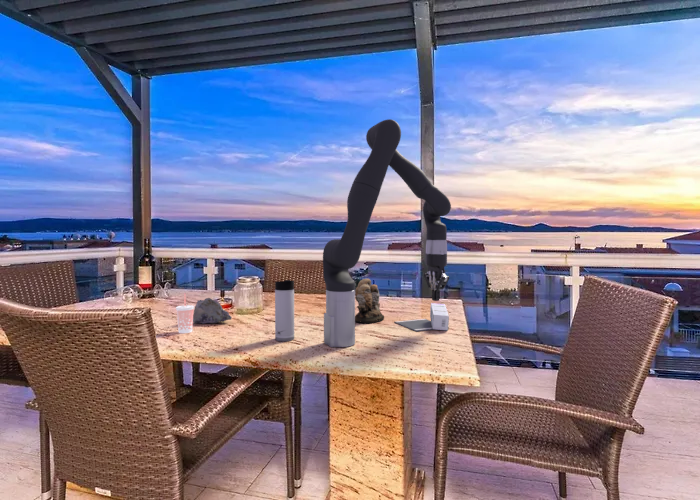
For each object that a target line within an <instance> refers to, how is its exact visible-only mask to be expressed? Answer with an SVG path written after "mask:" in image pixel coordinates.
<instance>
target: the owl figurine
mask: <svg viewBox="0 0 700 500" xmlns="http://www.w3.org/2000/svg"><path fill="white" fill-rule="evenodd" d="M380 296H381V295H380V291H379V288H378V285H377V284H372V280H371V279H370V278H363V279H361V280H360V281H359V282H358V284H357V287H355V302H357V304H358V305H357V306H356V308H357V310H358V313H355V323H364V324H368V325H370V324H372V323H373V324H376V323H379V322H380V323H381V322H382V321H384V320H385V316H384V314H383V313H382V311H381V309H380V306H381V303H379V302H380Z"/></svg>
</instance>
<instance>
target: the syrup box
mask: <svg viewBox="0 0 700 500" xmlns="http://www.w3.org/2000/svg"><path fill="white" fill-rule="evenodd" d="M429 308H430V309H429V310H430V311H429V312H430V314H429V315H430V317H429V318H430V321H431V324H432V329H437V330H439V331H449V328H448V327H449V324H450V323H449V321H450V316H449V312H448V309H447V305H446V304H445V303H435V302H431V303H430V307H429Z"/></svg>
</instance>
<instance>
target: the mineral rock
mask: <svg viewBox="0 0 700 500" xmlns="http://www.w3.org/2000/svg"><path fill="white" fill-rule="evenodd" d="M232 319H233V318H232V316H231V315H230V313H229V311H227V310H225V309H223V306H222V305H221V303H220V302H218V301H216V300H215V299H212V298H211V297H207V298H205V299H203V300H202V299H199V300H197V302H196V304H195V305H194V310H193V324H197V325H199V324H202V325H203V324H218V323H221V322H222V323H223V322H226V321H228V320H229V321H231V320H232Z"/></svg>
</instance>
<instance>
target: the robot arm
mask: <svg viewBox="0 0 700 500" xmlns="http://www.w3.org/2000/svg"><path fill="white" fill-rule="evenodd" d="M365 138H366V143H367V145H368V147H369V148H370V149H371V151H370V153H369V155H368V157H367V159H366V161H365V162H364V164H363V165H362V166H361V168H360V170H359V171H358V172H357V174H356V176H355V177H354V179H353V182H352V184H351V186H350V190H349V193H348V196H347V201H346V203H347V204H346V207H347V208H346V209H347V221H346V225H345V228H344V230H343V233H342V235H341V238H340V239H339V238H337V239H335V238H334V239H331V240H329V241H328V242H327V243H326V244H325V246H324V248H323V252H322V270H323V273H322V274H323V281H324V284H325V312H324V313H323V343H324V344H325V345H327V346H328V347H330V348H342V347H343V348H346V347H352V346H353V345H355V343H356V322H355V316H356V298H355V296H356V295H355V290H356V281H355V280H354V279H353V278H352V277H351V275H350V273H349V270H350V269H352V268H354V267H355V266H356V265H357V263H358V262H359V260H360V258H361V254H362V250H363V246H364V242H365V237H366V234H367V230H368V227H369V225H370V222H371V217H372V214H373V212H374V211H373V210H374V209H375V206H376V204H377V200H378V199H379V195H380V193H381V189H382V186H383V183H384V179H385V178H386V174H387V173H388V170H389V169H388V168H389V167H390V168H391V169H392V170H394V172H395V173H396V174H397V175H398V176H399V177H400V178H401V179H402V180H403V182H404V183H405V184H406V186H407V187H408V188H409V189H410V190H411V192H412V193H413V195H415V196H416V198H418V199H421V200H422V201H423V200H424V203H423V207H422V214H423V219H424V223H425V227H426V241H425V265H426V267H427V272H426V273H425V272H424V273H423V277H424V280H425V282H426V285H427V287H428V288H430V290H431V300H432V301H433V302H439V301H440V300H441V297H440V296H441V295H440V294H441V293H440V292H441V290H444V289H445V288H446V285H447V284H448V282H449V280H450V276H449V275H447V274H446V270H445V267H447V266H448V244H447V240H448V239H447V233H448V232H447V230H448V229H447V226H446V224H445V223H443V222H442V221H441V217H445V216H447V215H448V214H449V213H450V212H451V210H452V204H451V201H450V199H449V197H448V196H447V195H446V194H444V192H443V191H442V190H440V189H439V188H438V187H437V186H436V185H434V184H433V183H432V182H431V180H430V179H429V178H428V177H427V174H426V173H425V172H424V171H423V170H422V168H420V167H419V166H417V165H416V164H415V163H413V162H412V161H410V160H409V159H408V158H406V157H405V156H403V155H402V154H401V153H400V152H399V151H398V149H397V148H398V146H399V144H400V141H401V138H402V131H401V126H400V125H399V123H398V122H397V121H396V120H394V119H389V118H388V119H385V120H384V119H383V120H381V121H379V122H378V123H376V124H374V125H373V126H371V127H370V128H369V129H368V130H367V132H366V135H365Z"/></svg>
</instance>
